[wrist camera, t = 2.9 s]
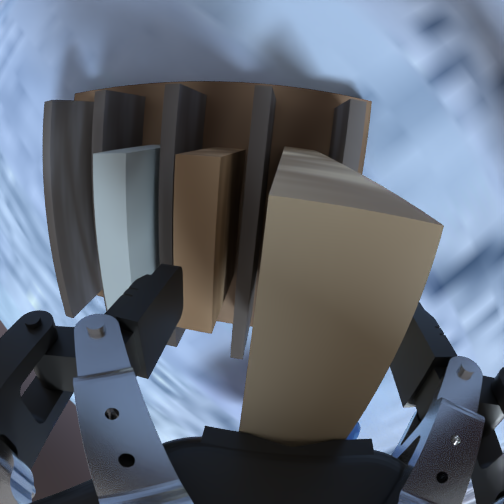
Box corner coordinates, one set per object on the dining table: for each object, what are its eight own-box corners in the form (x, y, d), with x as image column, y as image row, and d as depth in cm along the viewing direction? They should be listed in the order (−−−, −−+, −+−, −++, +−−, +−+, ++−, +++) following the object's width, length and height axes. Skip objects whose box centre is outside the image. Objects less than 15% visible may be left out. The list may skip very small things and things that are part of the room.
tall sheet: (315, 150, 17) (444, 226, 3) (293, 289, 21) (286, 512, 7) (284, 146, 18) (268, 195, 3) (267, 285, 21) (228, 506, 7)
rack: (365, 103, 17) (398, 91, 11) (322, 324, 24) (329, 379, 18) (85, 94, 19) (31, 91, 13) (93, 285, 26) (55, 320, 20)
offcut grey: (179, 145, 18) (126, 153, 12) (176, 265, 22) (135, 317, 15) (152, 144, 18) (92, 153, 12) (152, 261, 22) (107, 310, 16)
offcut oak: (244, 149, 18) (220, 157, 11) (234, 274, 21) (211, 333, 15) (214, 147, 18) (175, 154, 12) (207, 270, 22) (176, 326, 15)
